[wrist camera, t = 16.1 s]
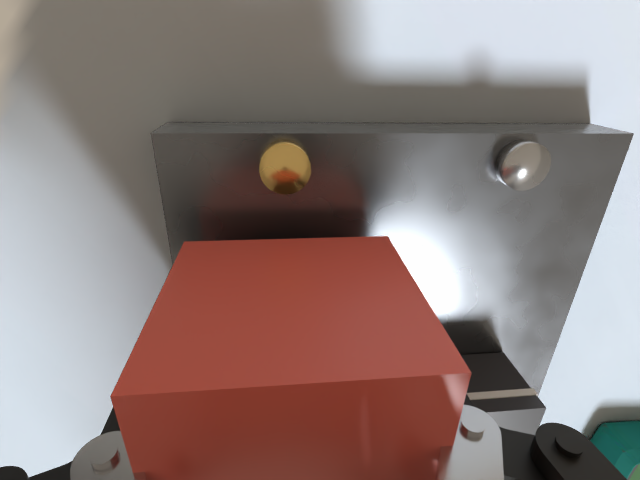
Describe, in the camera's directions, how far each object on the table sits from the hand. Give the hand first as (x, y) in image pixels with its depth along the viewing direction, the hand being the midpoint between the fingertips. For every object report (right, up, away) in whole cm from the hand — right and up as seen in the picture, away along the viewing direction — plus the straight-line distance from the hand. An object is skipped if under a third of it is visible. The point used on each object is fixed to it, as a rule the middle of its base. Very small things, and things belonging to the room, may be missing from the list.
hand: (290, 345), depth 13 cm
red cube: (0, +1, +1) cm, 1 cm away
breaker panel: (+3, +1, +5) cm, 6 cm away
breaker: (+8, -3, +5) cm, 10 cm away
